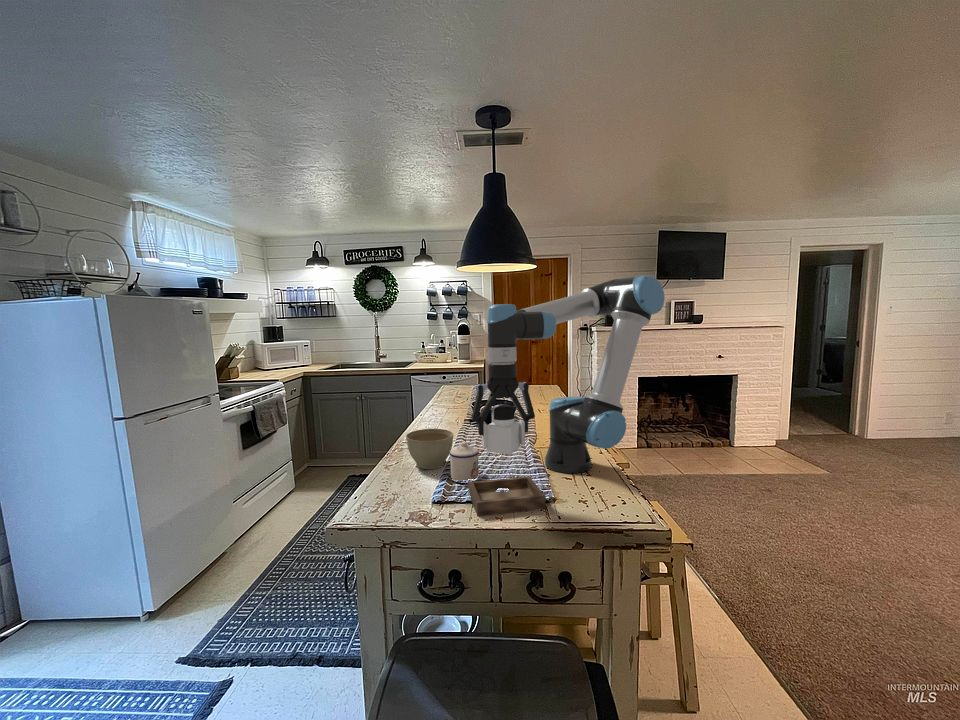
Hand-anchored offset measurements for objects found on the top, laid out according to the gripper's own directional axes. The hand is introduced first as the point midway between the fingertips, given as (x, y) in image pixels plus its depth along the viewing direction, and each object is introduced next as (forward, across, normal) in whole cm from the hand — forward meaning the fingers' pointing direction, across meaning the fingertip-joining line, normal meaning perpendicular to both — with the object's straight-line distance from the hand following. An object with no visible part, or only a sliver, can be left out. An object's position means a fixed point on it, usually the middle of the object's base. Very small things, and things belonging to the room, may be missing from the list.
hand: (503, 445), depth 113 cm
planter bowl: (+16, -18, +34) cm, 42 cm away
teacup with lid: (+16, -8, +20) cm, 27 cm away
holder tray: (+16, 0, 0) cm, 16 cm away
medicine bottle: (+1, 0, 0) cm, 1 cm away
